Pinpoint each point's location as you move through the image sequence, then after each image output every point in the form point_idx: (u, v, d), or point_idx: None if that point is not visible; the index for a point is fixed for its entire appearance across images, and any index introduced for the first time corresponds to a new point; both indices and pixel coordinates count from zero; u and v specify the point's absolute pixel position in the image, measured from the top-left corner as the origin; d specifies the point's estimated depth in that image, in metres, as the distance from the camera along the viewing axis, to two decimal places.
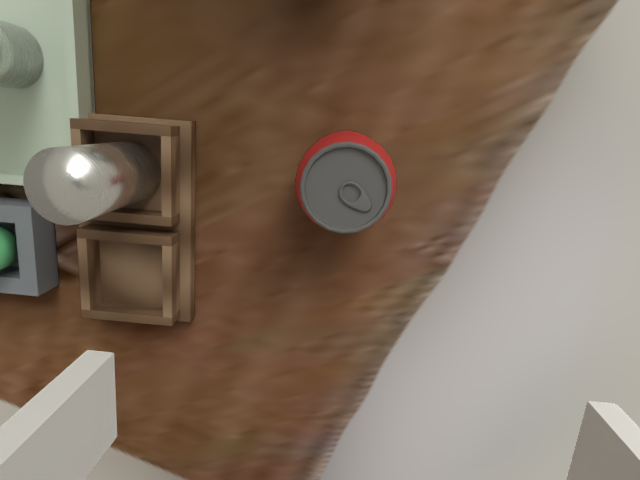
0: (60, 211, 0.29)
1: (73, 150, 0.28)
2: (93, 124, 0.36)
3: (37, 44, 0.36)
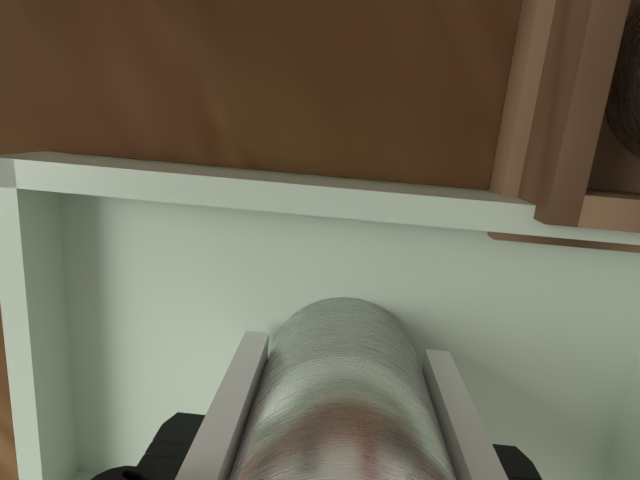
0: None
1: None
2: (576, 147, 0.11)
3: (315, 304, 0.14)
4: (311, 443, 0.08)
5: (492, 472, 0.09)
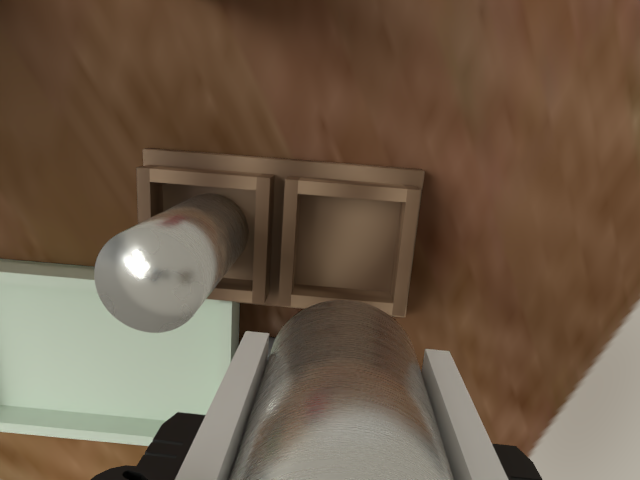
0: (183, 289, 0.20)
1: None
2: None
3: (315, 307, 0.14)
4: (309, 448, 0.08)
5: (492, 472, 0.09)
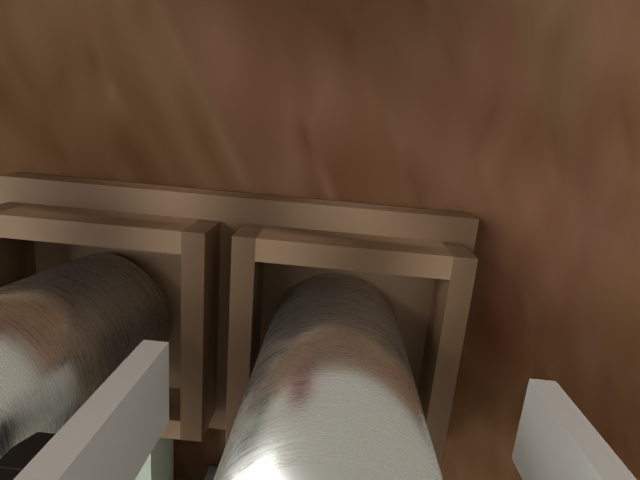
0: None
1: None
2: None
3: (309, 279, 0.17)
4: (304, 368, 0.10)
5: None
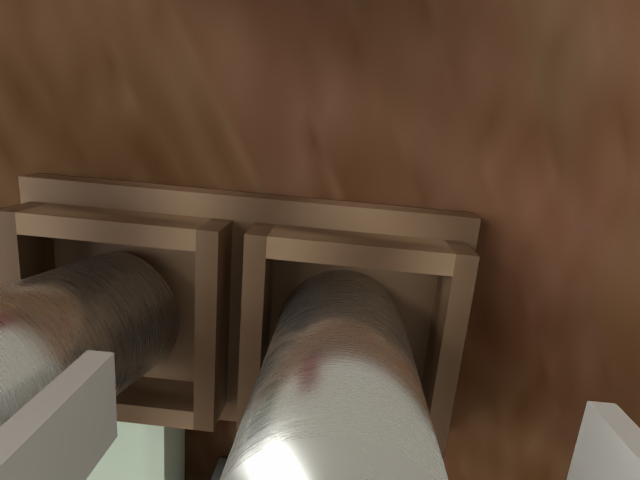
0: None
1: None
2: None
3: (317, 276, 0.18)
4: (312, 355, 0.11)
5: None
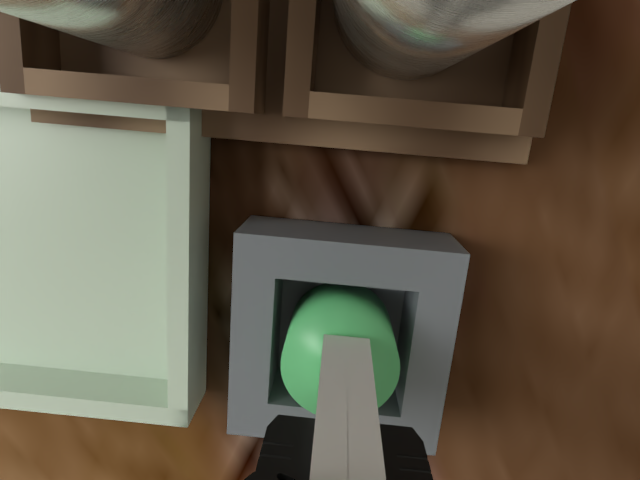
0: None
1: None
2: (5, 27, 0.14)
3: None
4: None
5: (369, 448, 0.10)
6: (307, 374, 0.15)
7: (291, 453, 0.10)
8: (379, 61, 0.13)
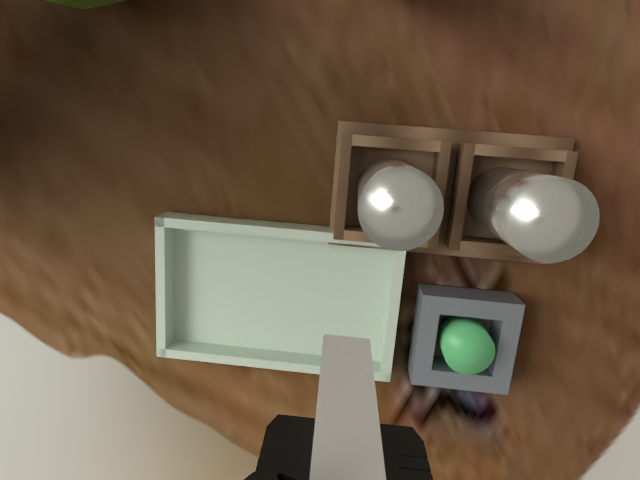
0: (427, 215, 0.26)
1: (361, 192, 0.27)
2: (339, 215, 0.35)
3: (488, 170, 0.35)
4: (524, 175, 0.28)
5: (369, 448, 0.10)
6: (455, 354, 0.36)
7: (291, 453, 0.10)
8: None
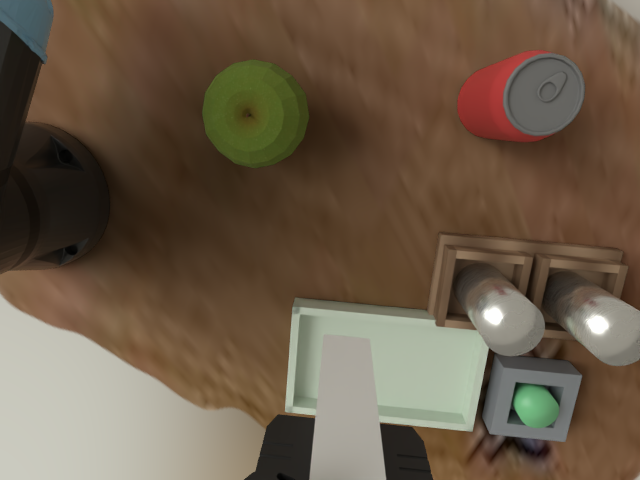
0: (532, 332, 0.37)
1: (484, 315, 0.37)
2: (442, 309, 0.45)
3: (556, 273, 0.45)
4: (595, 296, 0.39)
5: (369, 448, 0.10)
6: (527, 413, 0.47)
7: (291, 453, 0.10)
8: None
